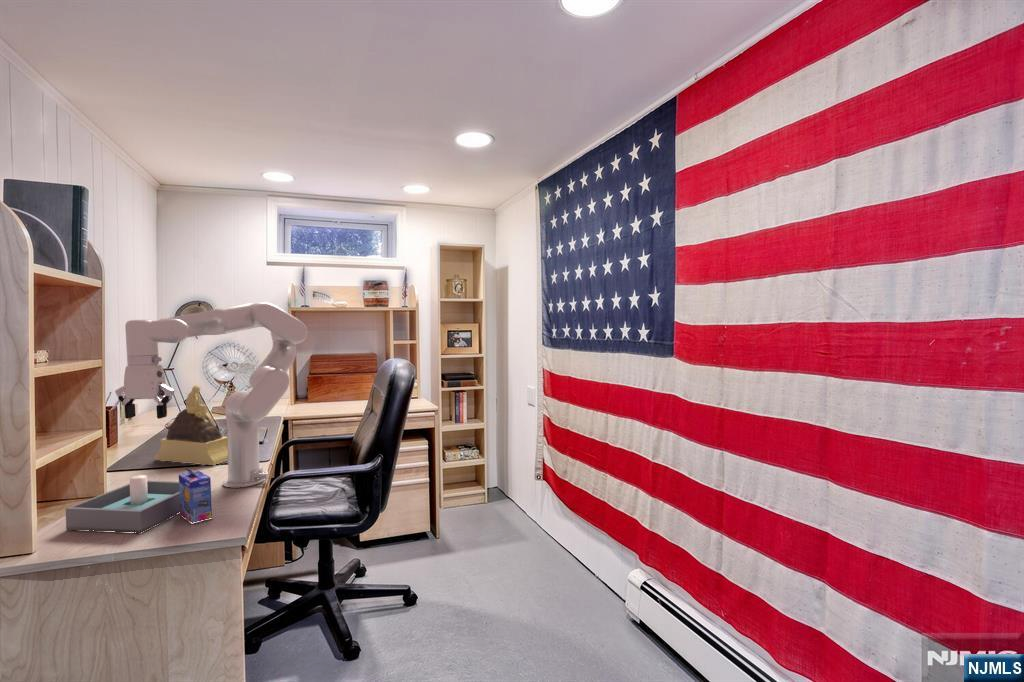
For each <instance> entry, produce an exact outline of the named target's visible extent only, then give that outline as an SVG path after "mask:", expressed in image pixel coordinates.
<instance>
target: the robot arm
mask: <svg viewBox="0 0 1024 682" xmlns="http://www.w3.org/2000/svg"><path fill="white" fill-rule="evenodd" d="M256 328H265V329H267V330H268V331H270V335H271V339H272V348H271V350H270V351H269V353H268V355H267V356H266V357H265V358H264V359H263V360H262V362H260V364H259V365H258V367H256V369H254V371H252V373H251V375H250V376H249V378H248V379H249V381H248V382H249V383H248V384H249V386H250V387H251V388H252V389H251V390H250V391H247V390H237V391H235V392H233V393H231V394H230V395H229V396H228V397H227V398H226V399H225V403H224V413H225V419H226V426H227V427H226V429H227V437H228V462H227V477H226V478H225V479H223V481H222V485H223V487H226V488H229V487H230V488H232V489H239V488H240V487H241V488H247V487H252V486H256V485H258V484H261V483H262V482H264V481H265V480H267V479H269V478H270V471H263V467H262V466H260V428H259V427H260V426H259V422H260V421H262V420H263V419H264V418H265V417H267V416H268V415H269V414H270V412H271V411H272V410H273V409H274V407H275V406H277V403H279V401H280V400H281V399H282V398H283V396H284V395H285V393H286V392H287V390H288V389H289V385H290V377H289V374H288V373H287V372H288V371H289V369H290V368H291V366H292V365H293V363H294V362H295V360H296V356H297V344H298V345H299V344H302V343H303V342H304V341H305V340H306V339H307V337H308V333H309V332H308V327H307V326H306V324H305V323H304V322H303V321H301V320H300V319H298V318H297V317H295V316H294V315H292V314H291V313H288V312H286V311H285V310H284V309H282V308H280V307H278V306H277V305H275V304H273V303H270V302H252V303H246V304H240V305H239V304H238V305H234V306H229V307H221V308H216V309H210V310H205V311H200V312H195V313H189V314H188V313H187V314H183V315H182V314H181V315H176V316H170V317H164V318H161V319H158V320H152V319H131V320H127V321H126V322H125V328H124V329H125V344H126V348H125V349H126V360H127V361H126V362H127V363H126V364H127V365H126V366H125V368H124V369H125V370H124V375H123V386H121V387H119V388H117V389H116V390H115V391H114V392H115V394H116V396H117V398H118V400H119V401H120V403H121V405H122V406H124V418H125V419H131V418H135V417H136V414H137V413H136V404H135V403H134V402H135V400H154V402H156V404H157V405H156V418H157V419H158V420H159V419H163V418H166V417H167V416H168V412H167V411H168V408H167V407H168V406H167V405H168V404H169V402H170V401H171V400H172V399H173V395H174V393H175V389H173V388H172V387H170V386H167V381H166V375H165V371H164V368H163V366H162V364H160V363H161V362H162V357H161V356H159V345H158V344H159V343H166V344H168V343H169V344H179V343H181V342H183V341H185V340H186V339H187V338H188V339H189V338H192V337H194V338H195V337H201V336H220V335H227V334H231V333H236V332H240V331H247V330H250V329H256ZM159 362H160V363H159ZM241 488H240V489H241Z"/></svg>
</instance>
